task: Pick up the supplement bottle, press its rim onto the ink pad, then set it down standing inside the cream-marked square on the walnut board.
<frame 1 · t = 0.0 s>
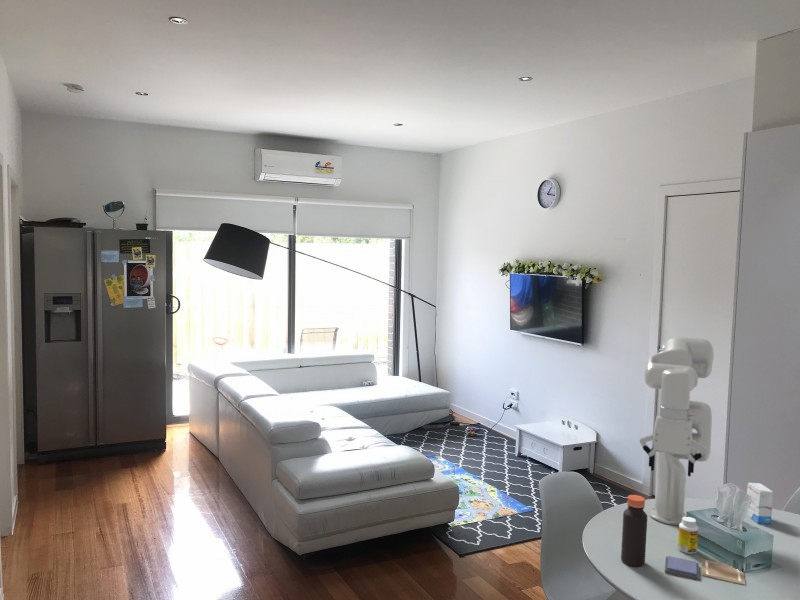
hand: (670, 471, 178), 31 cm above the table, tool pointing down, fingers open, 9 cm apart
ink box: (757, 519, 222), on the table
ink pad: (681, 569, 185), on the table
supplement bottle: (687, 551, 197), on the table
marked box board: (722, 571, 184), on the table
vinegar: (632, 562, 189), on the table
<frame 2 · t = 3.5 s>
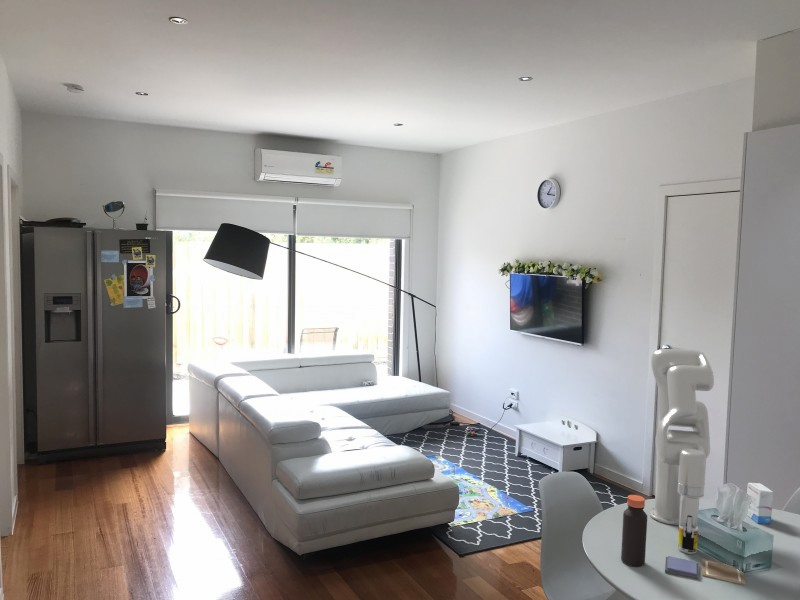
hand: (687, 544, 197), 2 cm above the table, tool pointing down, fingers closed on supplement bottle, 5 cm apart
supplement bottle: (687, 550, 197), on the table, touching gripper
everything else where it was.
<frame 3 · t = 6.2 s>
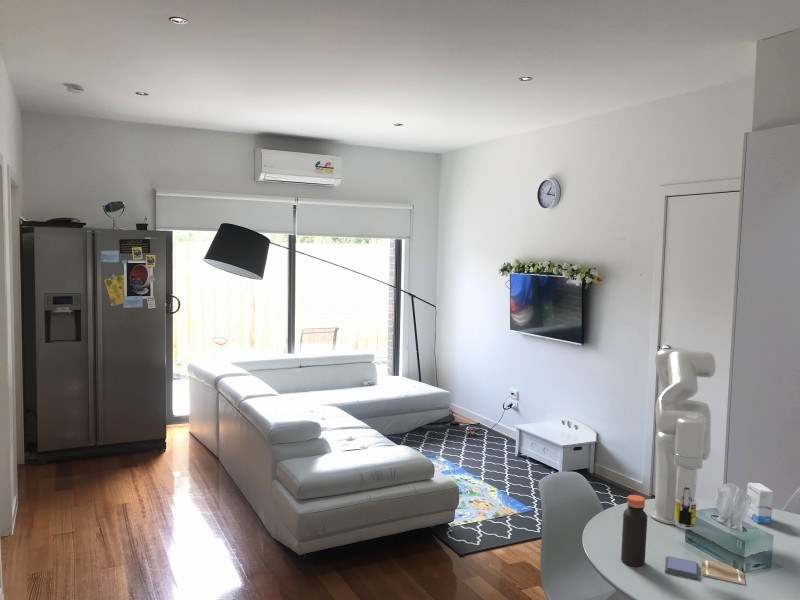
hand: (684, 519, 184), 15 cm above the table, tool pointing down, fingers closed on supplement bottle, 5 cm apart
supplement bottle: (684, 526, 184), point 13 cm above the table, touching gripper
everything else where it was.
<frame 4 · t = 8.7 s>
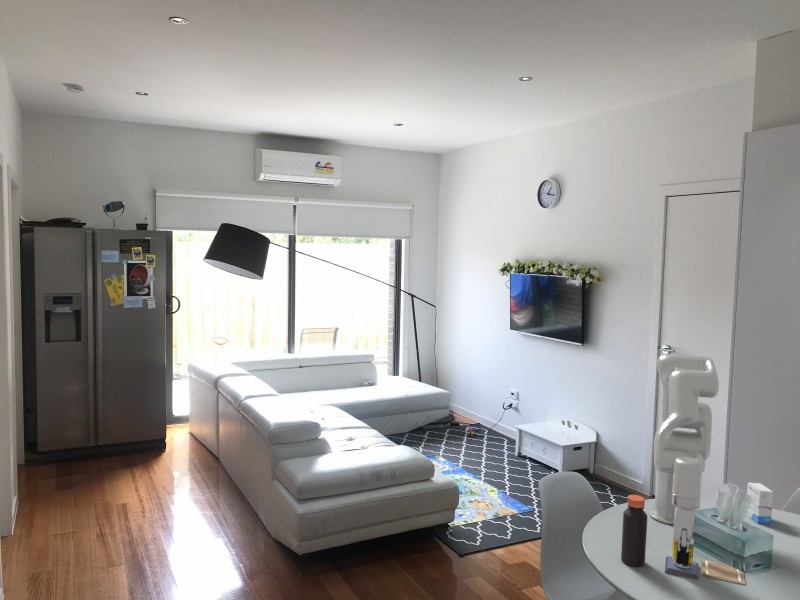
hand: (682, 558, 185), 3 cm above the table, tool pointing down, fingers closed on supplement bottle, 5 cm apart
supplement bottle: (682, 565, 185), point 1 cm above the table, touching gripper, ink pad
everything else where it was.
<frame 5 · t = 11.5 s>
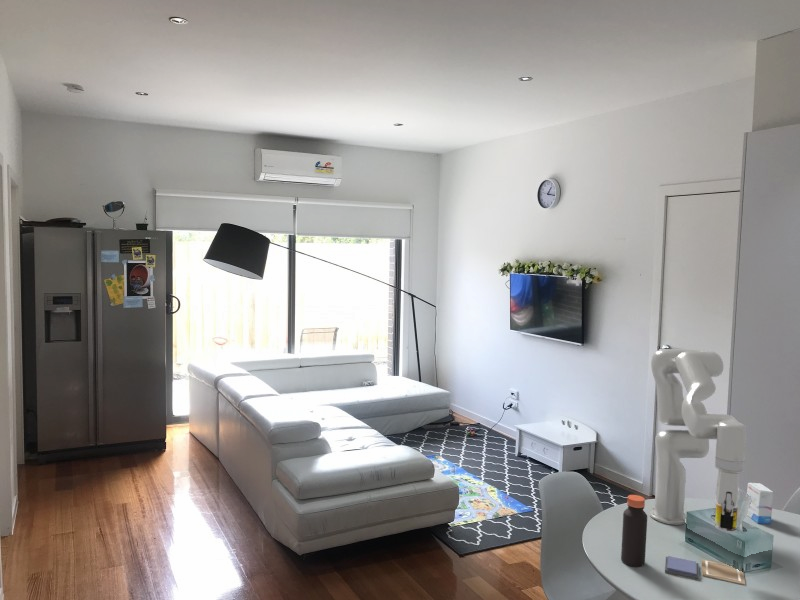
hand: (725, 523, 183), 15 cm above the table, tool pointing down, fingers closed on supplement bottle, 5 cm apart
supplement bottle: (725, 529, 183), point 13 cm above the table, touching gripper
everything else where it was.
when the fingers open (4 cm above the table, at t = 13.8 s): supplement bottle drops 2 cm, resting on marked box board.
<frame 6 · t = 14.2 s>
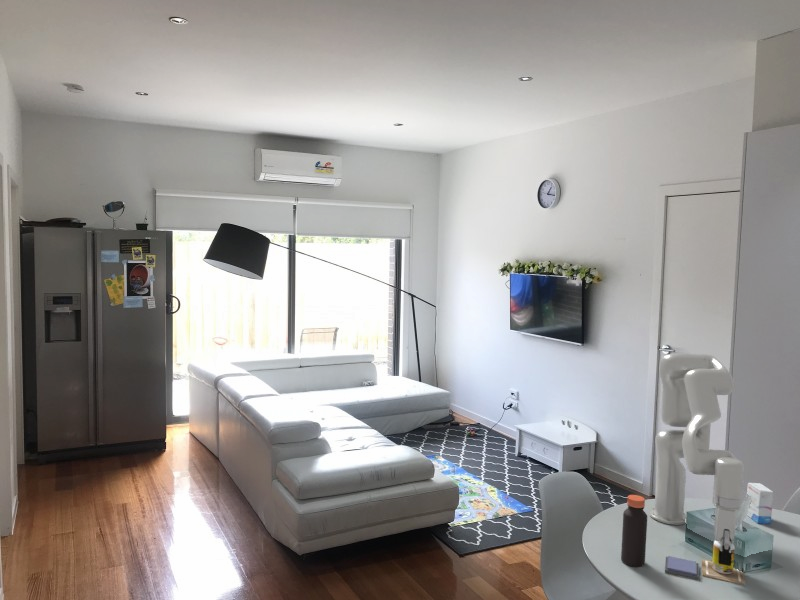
hand: (723, 557, 184), 5 cm above the table, tool pointing down, fingers open, 9 cm apart
supplement bottle: (722, 570, 184), resting on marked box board
everything else where it was.
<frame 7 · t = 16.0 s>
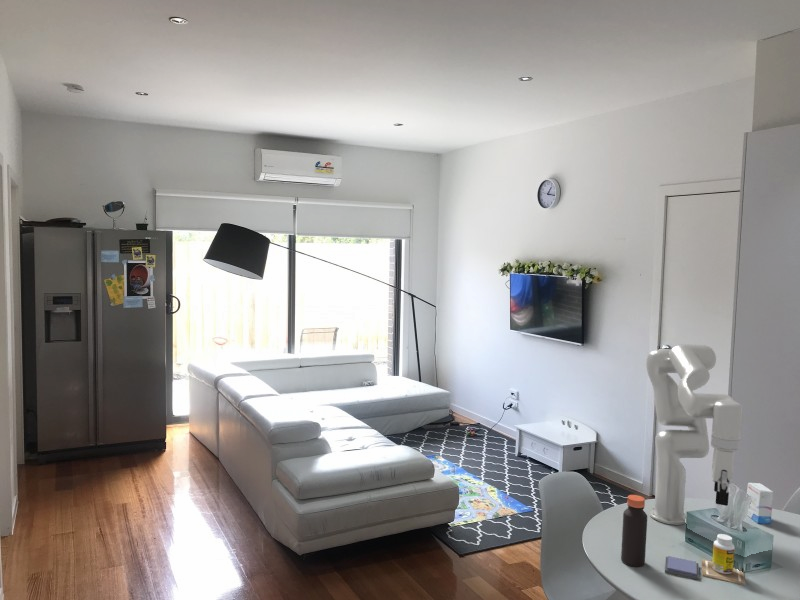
hand: (720, 498, 186), 21 cm above the table, tool pointing down, fingers open, 9 cm apart
nothing on the table moved.
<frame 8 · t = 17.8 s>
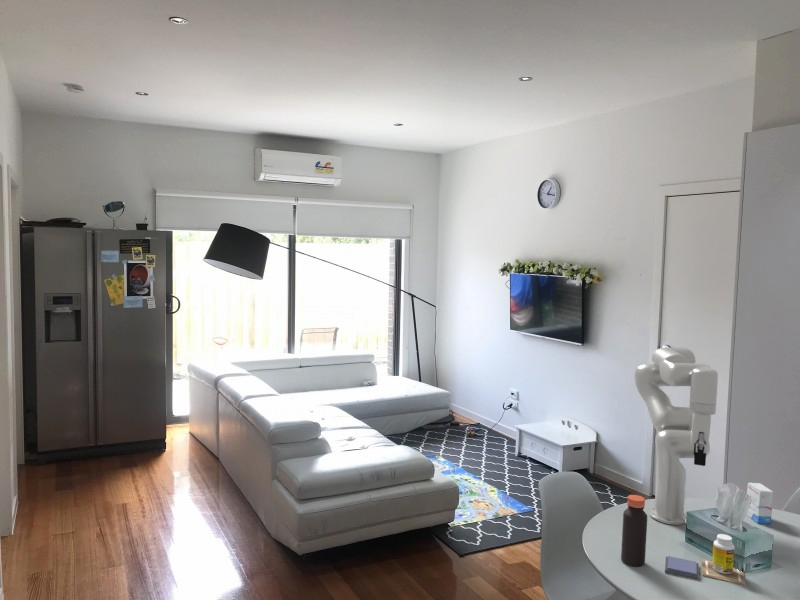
hand: (699, 460, 198), 28 cm above the table, tool pointing down, fingers open, 9 cm apart
nothing on the table moved.
at the end: supplement bottle 0.4 cm off-centre on the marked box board, point 0.1 cm above the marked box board's base; supplement bottle tilted 0°; the gripper is holding nothing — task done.
